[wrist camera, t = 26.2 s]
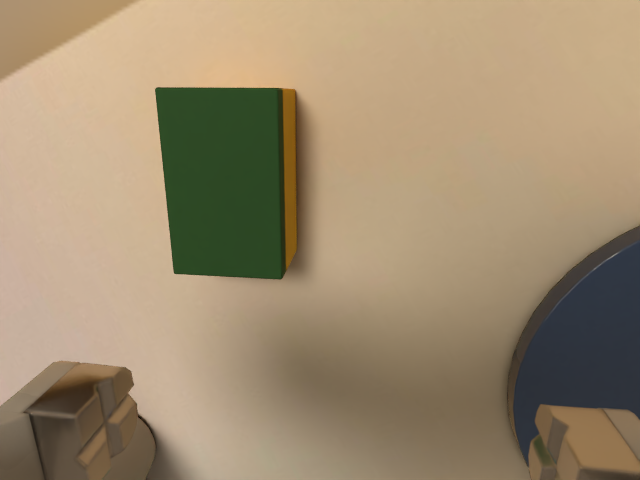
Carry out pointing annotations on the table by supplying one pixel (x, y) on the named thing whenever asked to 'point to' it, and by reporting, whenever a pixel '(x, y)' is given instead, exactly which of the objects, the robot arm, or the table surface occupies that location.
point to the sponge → (230, 179)
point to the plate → (581, 341)
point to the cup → (134, 456)
